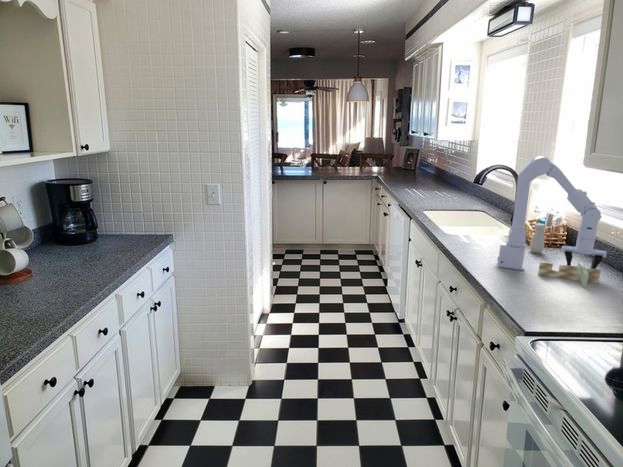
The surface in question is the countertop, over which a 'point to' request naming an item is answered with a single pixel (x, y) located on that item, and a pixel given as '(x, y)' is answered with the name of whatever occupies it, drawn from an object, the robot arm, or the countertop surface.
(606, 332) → the countertop surface
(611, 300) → the countertop surface
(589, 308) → the countertop surface
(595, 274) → the maple slat
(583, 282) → the green plate
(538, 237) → the salt shaker
